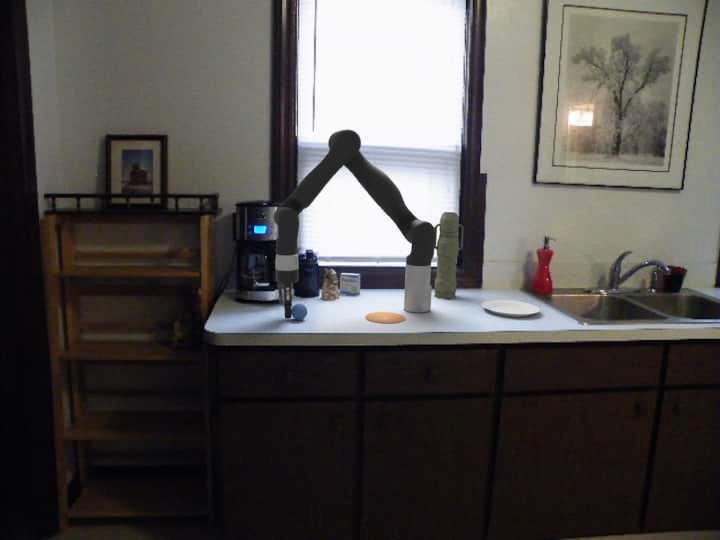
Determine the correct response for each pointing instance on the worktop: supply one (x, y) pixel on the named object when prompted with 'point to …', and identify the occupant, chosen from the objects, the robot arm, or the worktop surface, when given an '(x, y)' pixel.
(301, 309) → the ball
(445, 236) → the thermos
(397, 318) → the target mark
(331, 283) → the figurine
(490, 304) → the plate
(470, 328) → the worktop surface
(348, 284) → the medicine box
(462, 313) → the worktop surface
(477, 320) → the worktop surface
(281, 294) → the beverage cup
